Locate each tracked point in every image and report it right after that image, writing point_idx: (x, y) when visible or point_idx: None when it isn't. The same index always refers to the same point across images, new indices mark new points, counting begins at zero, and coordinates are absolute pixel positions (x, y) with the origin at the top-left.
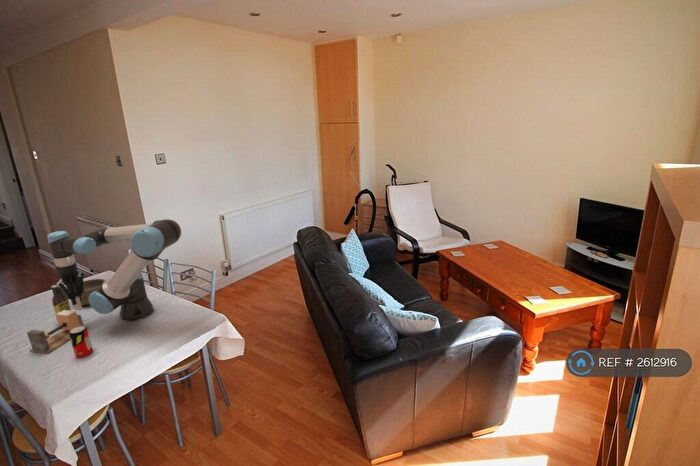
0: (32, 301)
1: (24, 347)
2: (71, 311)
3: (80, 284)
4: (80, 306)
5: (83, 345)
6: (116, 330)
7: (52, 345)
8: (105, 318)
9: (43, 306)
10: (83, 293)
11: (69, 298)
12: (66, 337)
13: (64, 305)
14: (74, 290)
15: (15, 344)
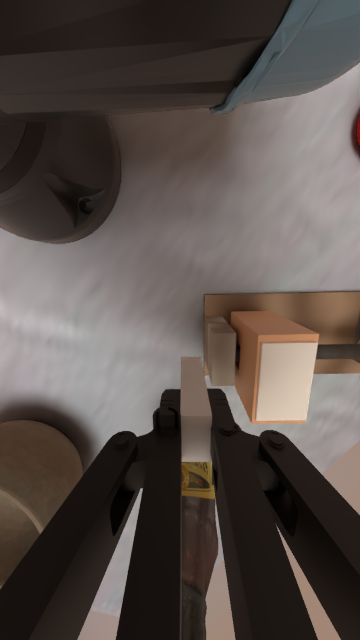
0: (107, 595)
1: (337, 408)
2: (269, 358)
3: (56, 602)
4: (190, 366)
5: None
6: (198, 141)
7: (340, 317)
8: (126, 290)
9: (120, 551)
10: (42, 492)
11: (293, 444)
12: (285, 314)
13: (188, 469)
14: (181, 528)
15: (321, 447)
